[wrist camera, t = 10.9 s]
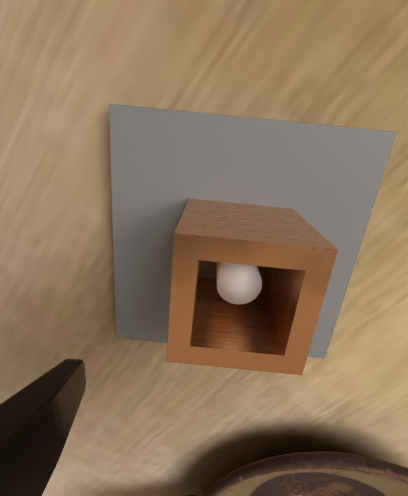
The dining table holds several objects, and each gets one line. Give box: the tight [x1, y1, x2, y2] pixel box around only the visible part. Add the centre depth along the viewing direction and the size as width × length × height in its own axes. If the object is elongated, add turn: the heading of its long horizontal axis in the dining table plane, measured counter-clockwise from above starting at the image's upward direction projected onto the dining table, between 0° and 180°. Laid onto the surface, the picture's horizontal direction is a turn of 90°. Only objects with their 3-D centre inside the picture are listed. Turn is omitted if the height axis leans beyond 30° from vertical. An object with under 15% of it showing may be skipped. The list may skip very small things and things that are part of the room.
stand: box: [109, 104, 396, 358], centre depth 15 cm, size 14×14×5 cm
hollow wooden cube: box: [167, 198, 338, 375], centre depth 13 cm, size 6×6×6 cm
